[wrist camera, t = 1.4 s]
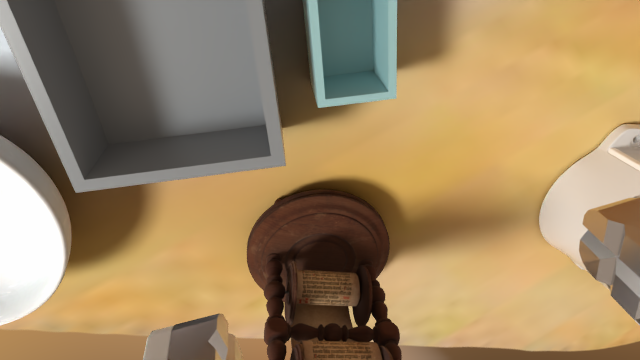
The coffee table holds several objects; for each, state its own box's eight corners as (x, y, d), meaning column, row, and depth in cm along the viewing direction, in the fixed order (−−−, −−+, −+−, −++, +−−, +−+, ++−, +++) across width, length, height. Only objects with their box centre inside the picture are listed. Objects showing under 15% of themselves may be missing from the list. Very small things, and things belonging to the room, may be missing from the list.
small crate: (376, -40, 33) (397, -33, 28) (378, 74, 38) (396, 98, 33) (299, -32, 33) (306, -23, 28) (310, 82, 38) (318, 107, 33)
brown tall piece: (241, 286, 49) (230, 481, 32) (255, 174, 42) (250, 349, 25) (366, 292, 52) (417, 475, 35) (399, 188, 45) (483, 354, 28)
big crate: (241, -161, 29) (235, -181, 23) (282, 128, 40) (285, 165, 34) (-8, -138, 28) (-82, -154, 22) (104, 150, 39) (75, 192, 33)
